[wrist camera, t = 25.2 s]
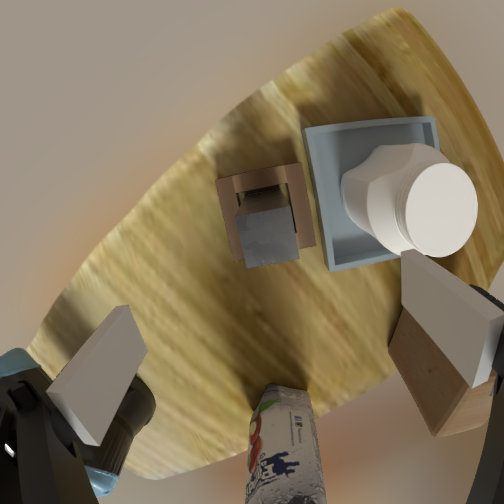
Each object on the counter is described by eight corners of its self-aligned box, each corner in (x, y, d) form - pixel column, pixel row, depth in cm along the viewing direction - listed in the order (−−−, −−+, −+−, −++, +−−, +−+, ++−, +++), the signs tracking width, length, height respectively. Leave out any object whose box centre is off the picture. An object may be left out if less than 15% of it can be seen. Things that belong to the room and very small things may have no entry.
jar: (368, 244, 37) (420, 292, 23) (326, 187, 35) (367, 207, 21) (428, 192, 35) (499, 215, 21) (391, 134, 33) (459, 126, 19)
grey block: (252, 229, 38) (246, 268, 25) (245, 195, 37) (235, 216, 23) (286, 222, 38) (299, 258, 24) (280, 188, 36) (290, 206, 23)
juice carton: (315, 387, 46) (340, 531, 20) (291, 423, 49) (300, 550, 23) (266, 376, 45) (265, 531, 20) (246, 414, 48) (237, 548, 23)
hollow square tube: (236, 253, 39) (234, 261, 36) (218, 178, 36) (214, 180, 33) (312, 239, 38) (316, 245, 35) (298, 162, 35) (301, 162, 32)
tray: (325, 264, 39) (329, 272, 36) (301, 130, 34) (304, 128, 31) (436, 240, 37) (446, 246, 35) (423, 118, 32) (434, 116, 29)
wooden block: (404, 296, 40) (473, 379, 21) (451, 300, 40) (522, 369, 21) (384, 350, 43) (431, 442, 24) (430, 350, 43) (483, 428, 24)
